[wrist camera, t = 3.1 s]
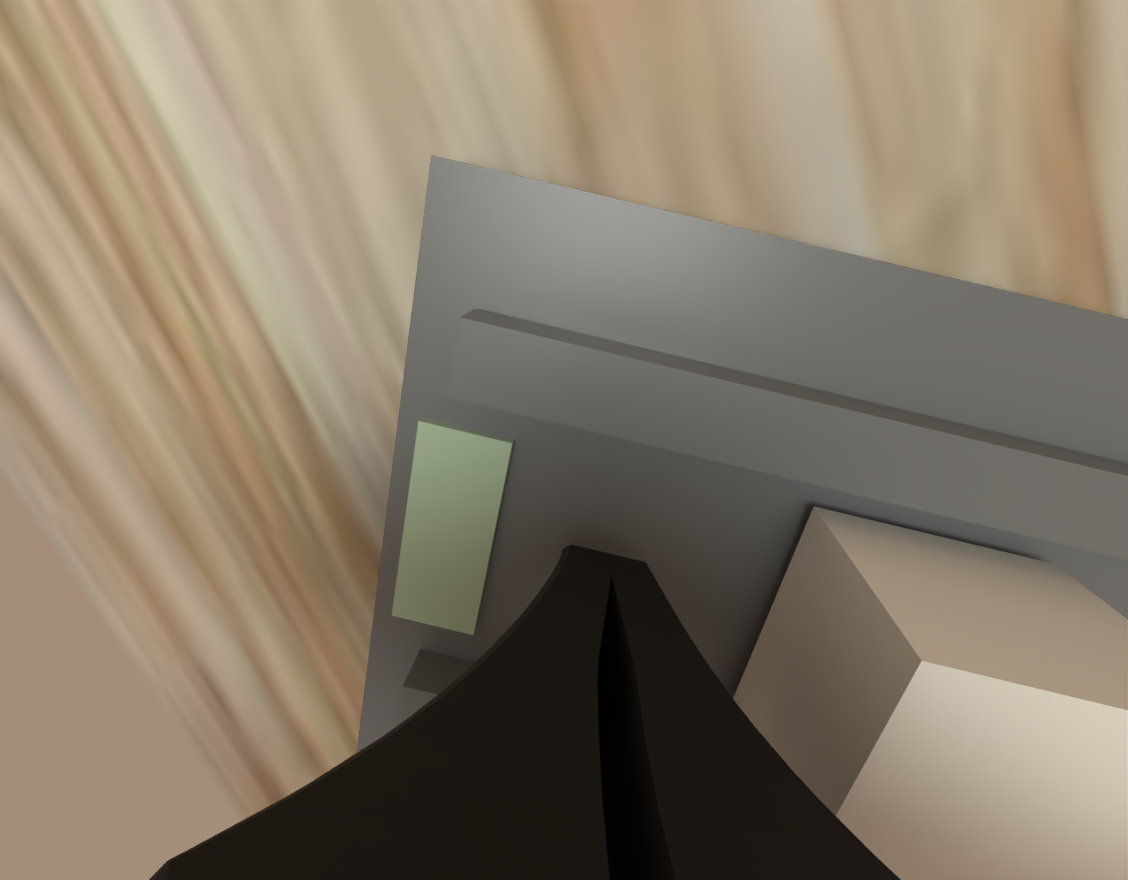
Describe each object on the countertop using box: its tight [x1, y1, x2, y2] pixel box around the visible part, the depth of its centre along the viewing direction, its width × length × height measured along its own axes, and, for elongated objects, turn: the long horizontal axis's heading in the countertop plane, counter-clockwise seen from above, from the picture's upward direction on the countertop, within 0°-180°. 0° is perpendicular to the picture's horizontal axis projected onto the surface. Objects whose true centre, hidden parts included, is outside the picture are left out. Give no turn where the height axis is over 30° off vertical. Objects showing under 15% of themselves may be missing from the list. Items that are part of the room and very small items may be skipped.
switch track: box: [357, 155, 1128, 752], centre depth 11 cm, size 12×18×2 cm, turn 78°
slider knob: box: [733, 506, 1128, 880], centre depth 9 cm, size 4×4×4 cm
